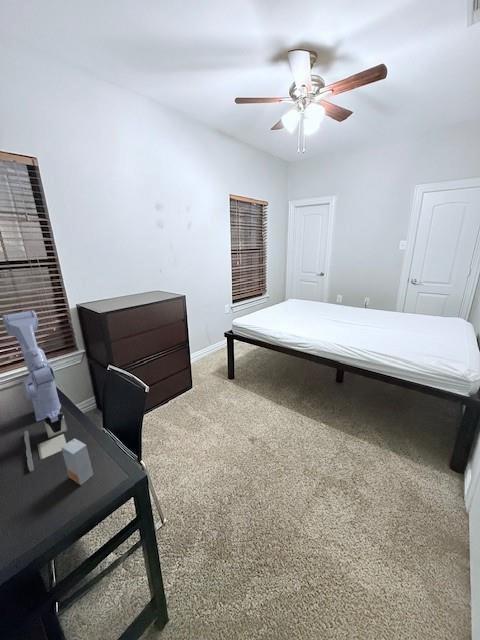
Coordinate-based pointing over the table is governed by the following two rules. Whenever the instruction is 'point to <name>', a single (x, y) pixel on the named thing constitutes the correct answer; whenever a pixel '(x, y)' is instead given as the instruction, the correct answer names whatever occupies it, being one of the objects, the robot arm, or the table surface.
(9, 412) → the table surface
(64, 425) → the sage carton
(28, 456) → the rail
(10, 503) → the table surface
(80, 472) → the skincare box
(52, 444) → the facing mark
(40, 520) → the table surface
